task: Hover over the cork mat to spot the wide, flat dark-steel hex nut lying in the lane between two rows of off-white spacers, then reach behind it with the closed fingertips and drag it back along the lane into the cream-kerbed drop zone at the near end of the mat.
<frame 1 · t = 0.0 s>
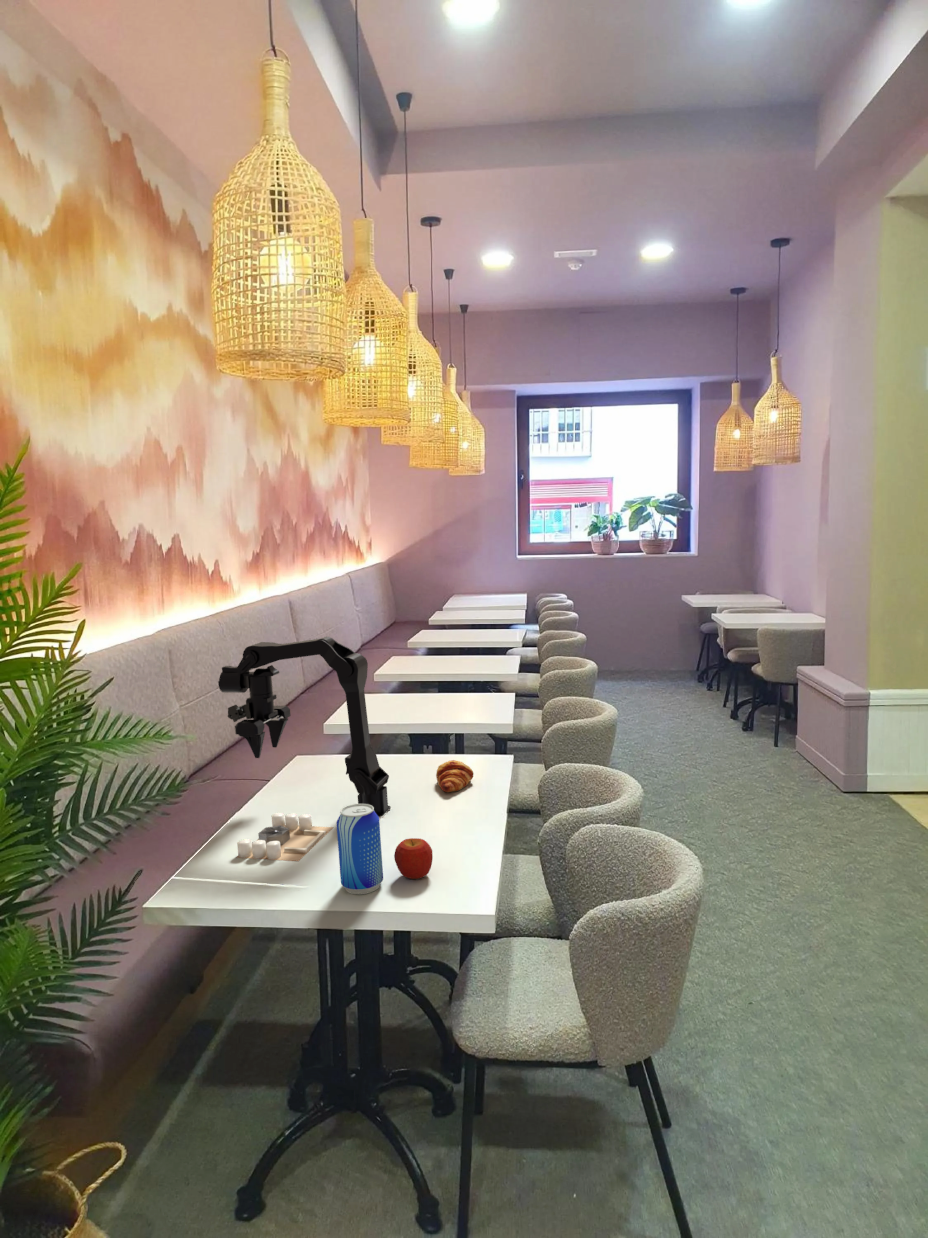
hand: (266, 752, 209), 15 cm above the table, fingers open, 9 cm apart
beer can: (362, 887, 164), on the table
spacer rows: (286, 843, 187), resting on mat
croissant: (455, 784, 223), on the table
nut: (274, 841, 188), resting on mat
apple: (414, 877, 167), on the table
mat: (286, 843, 187), on the table
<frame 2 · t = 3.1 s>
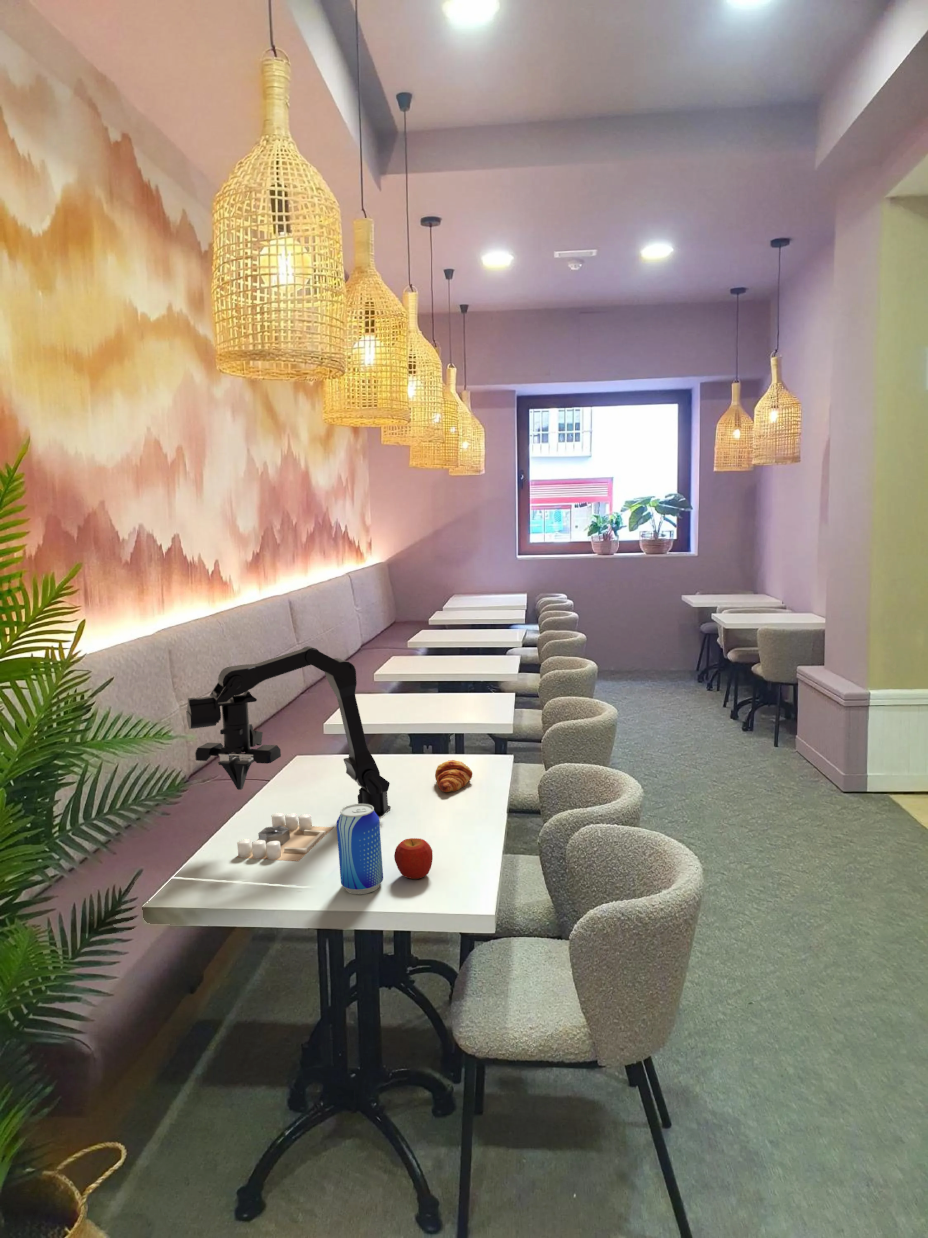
hand: (240, 789, 188), 13 cm above the table, fingers closed
nothing on the table moved.
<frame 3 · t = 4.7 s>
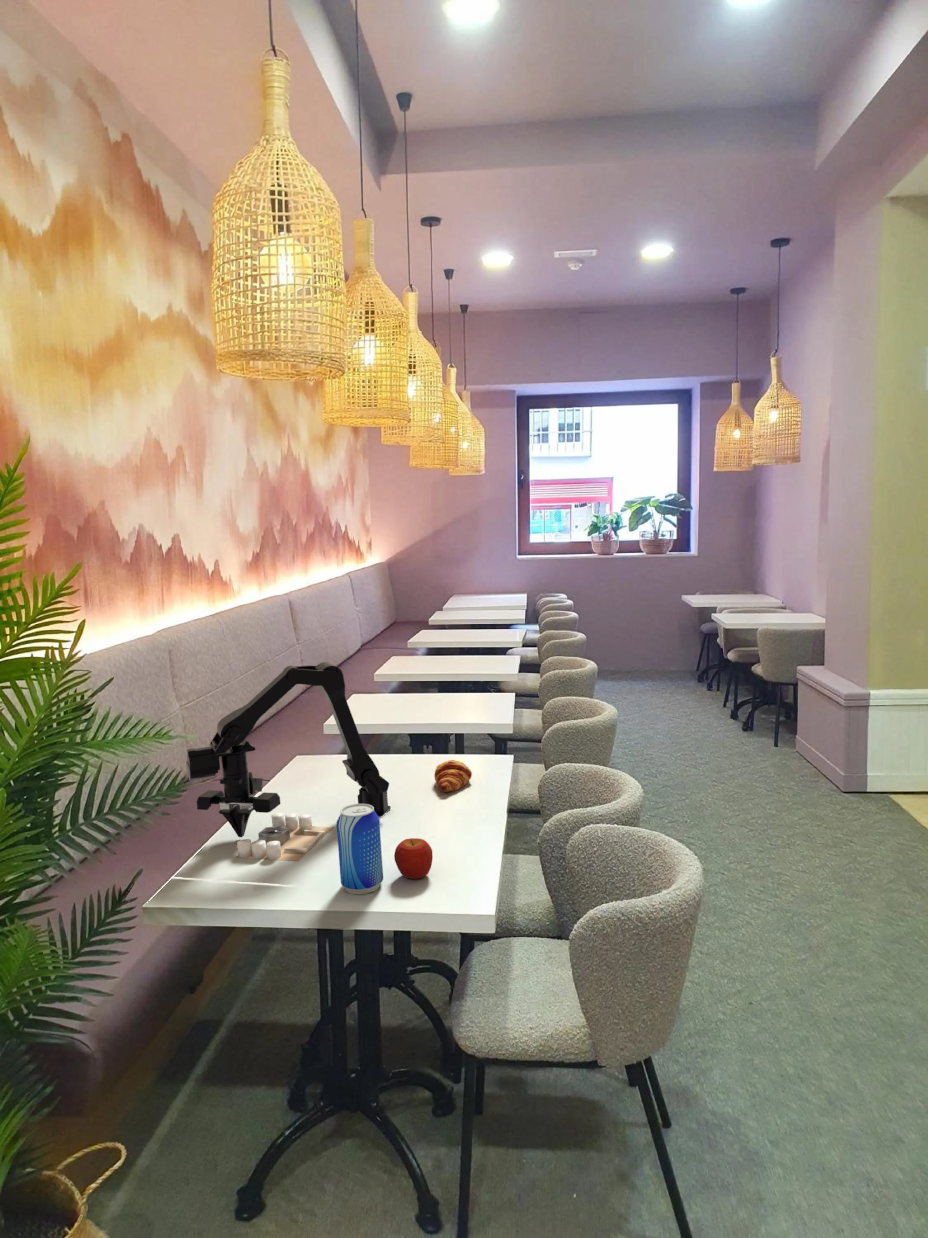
hand: (241, 836, 190), 1 cm above the table, fingers closed
nothing on the table moved.
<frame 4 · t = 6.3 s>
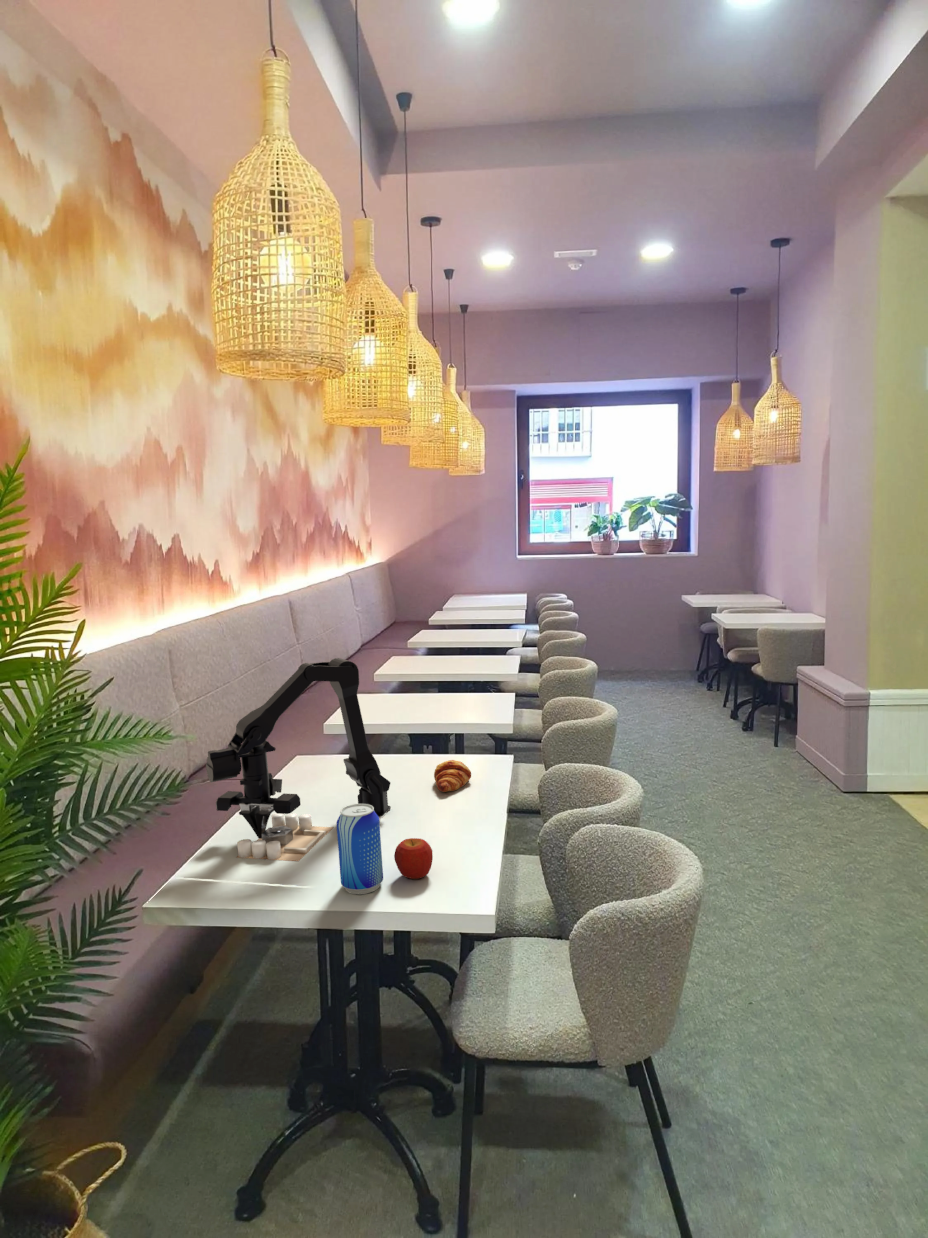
hand: (261, 838, 189), 1 cm above the table, fingers closed
nut: (277, 841, 188), resting on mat, touching gripper
everything else where it was.
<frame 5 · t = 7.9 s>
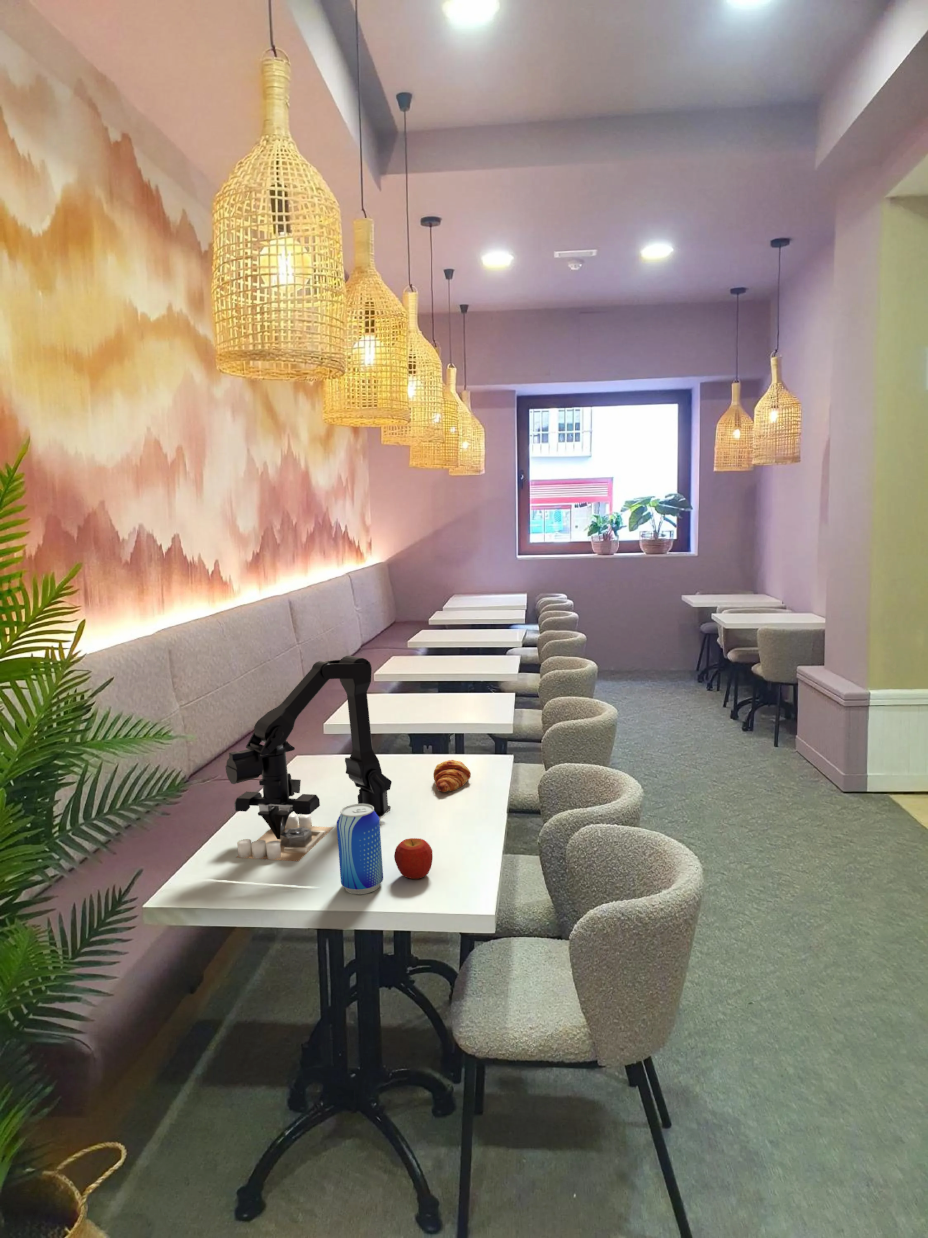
hand: (279, 838, 188), 1 cm above the table, fingers closed
nut: (296, 842, 186), resting on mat, touching gripper
everything else where it was.
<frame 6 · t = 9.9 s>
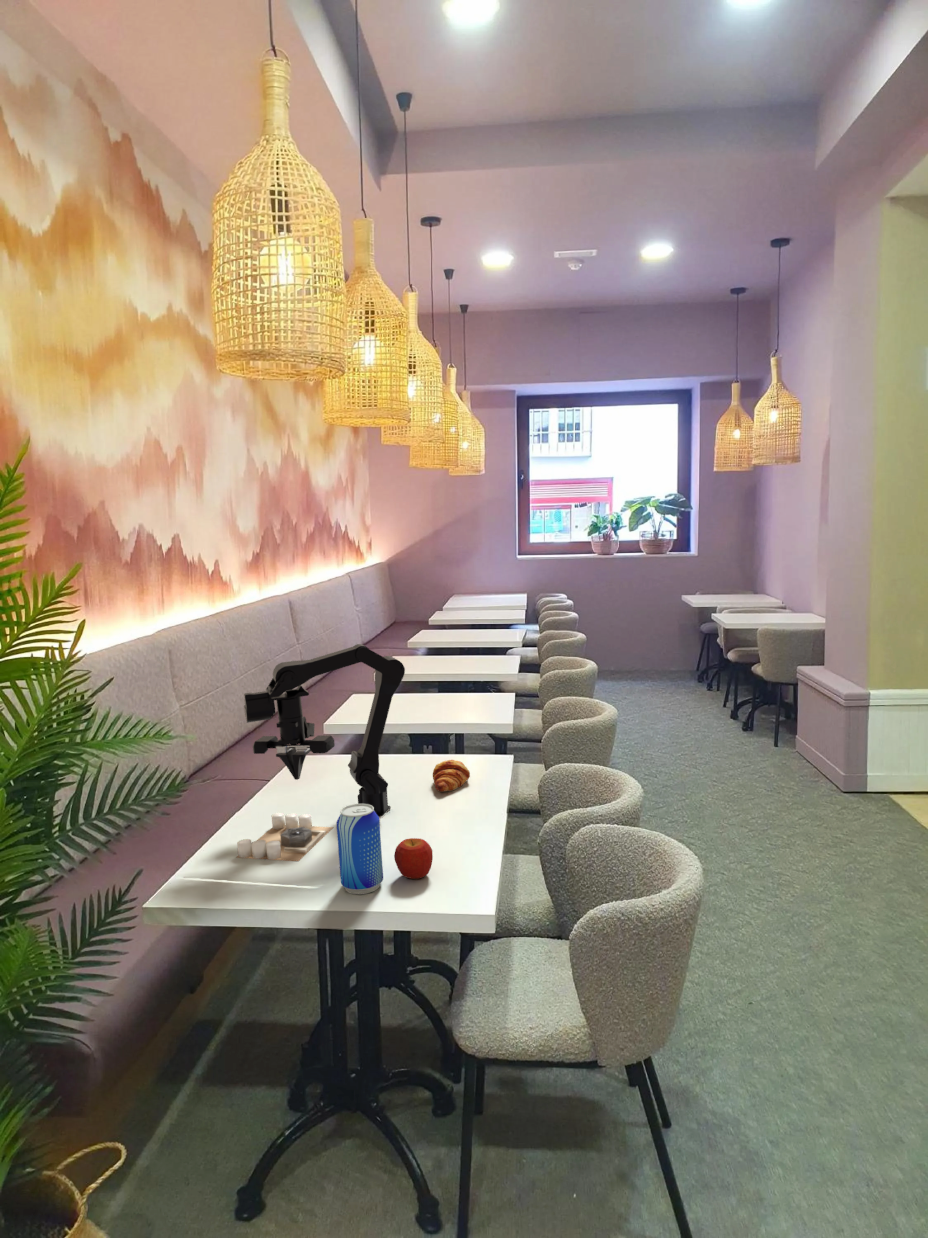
hand: (297, 779, 196), 12 cm above the table, fingers closed
nut: (296, 842, 186), resting on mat
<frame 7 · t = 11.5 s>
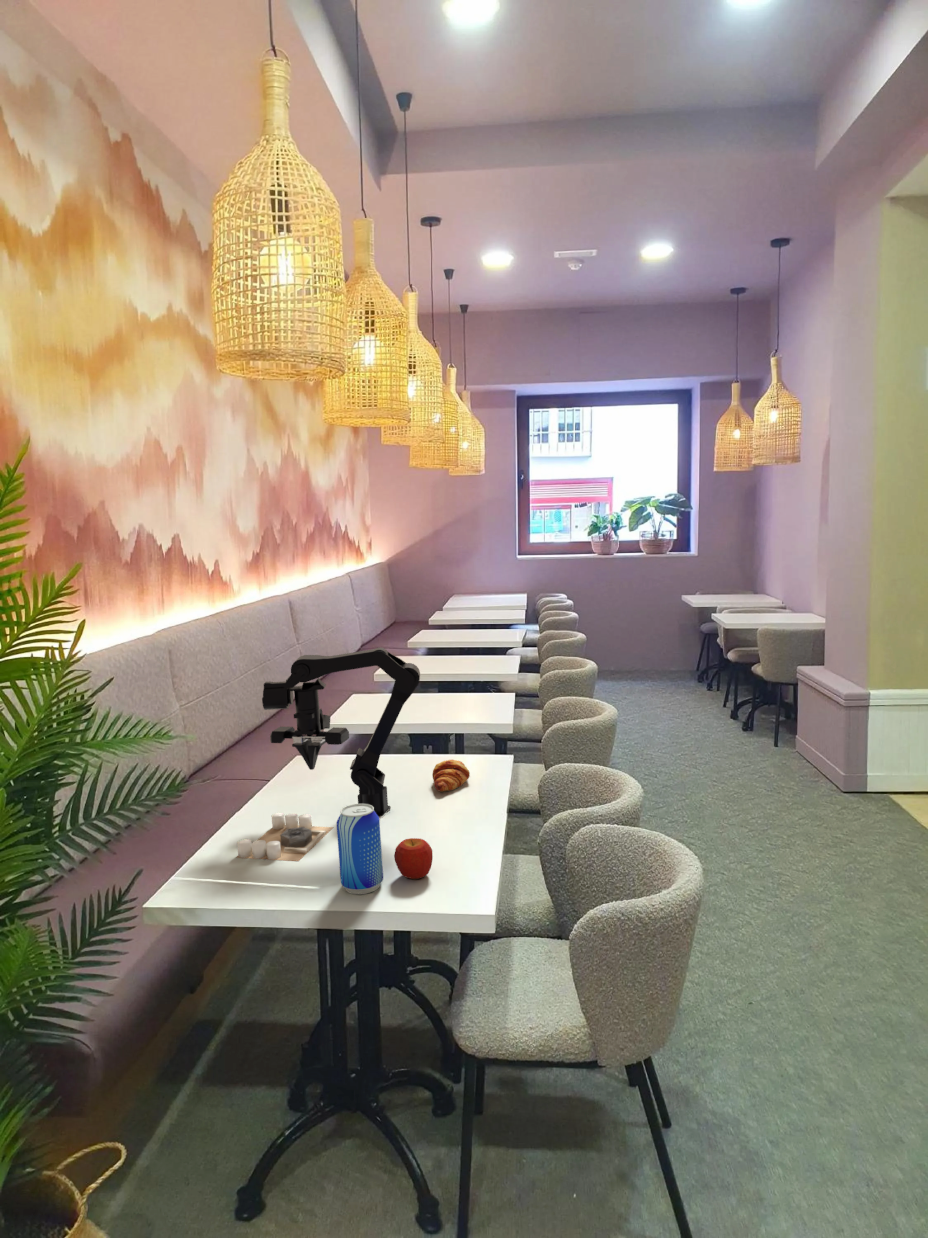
hand: (312, 769, 202), 12 cm above the table, fingers closed
at the end: nut inside the target area (0.5 cm from its centre), resting on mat; nut tilted 0° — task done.
